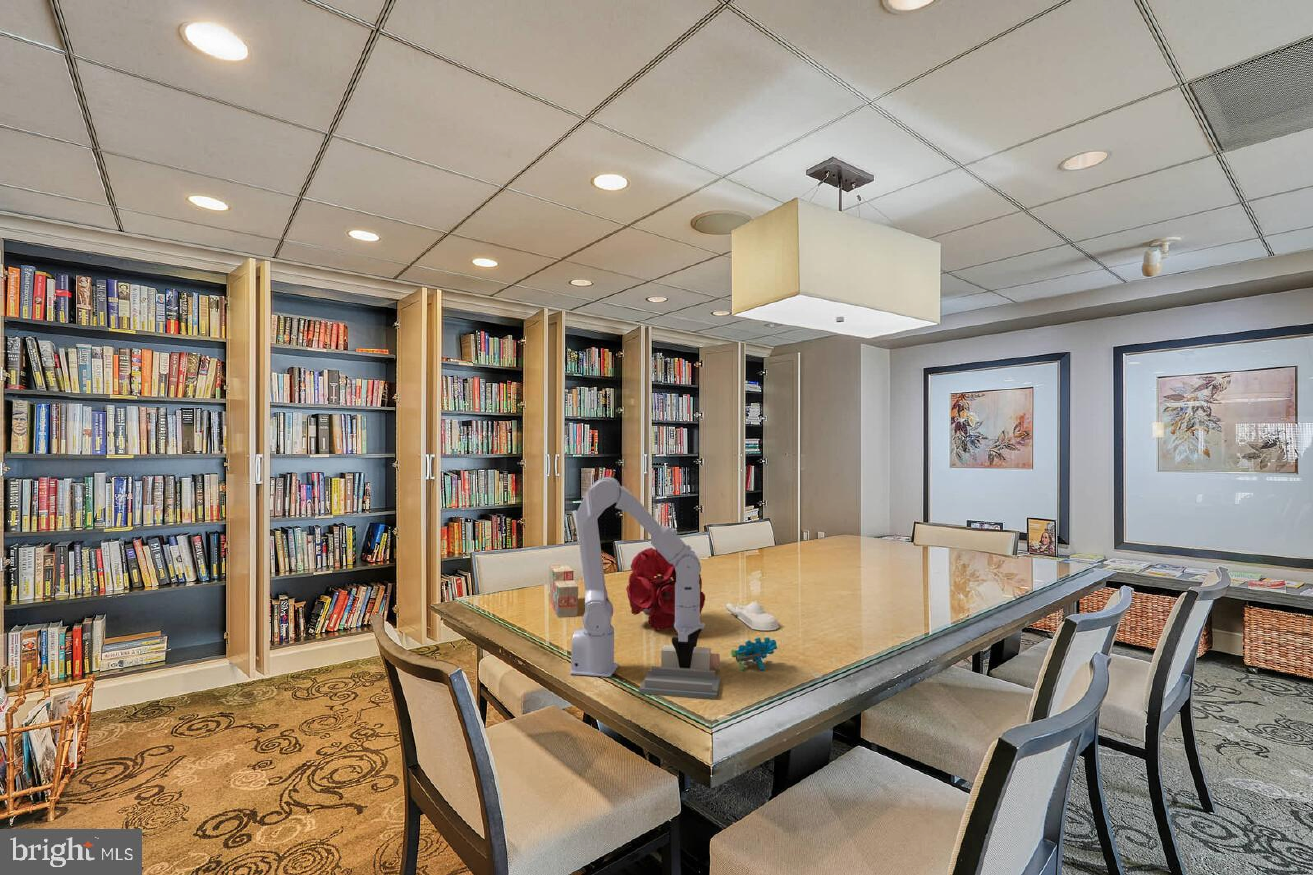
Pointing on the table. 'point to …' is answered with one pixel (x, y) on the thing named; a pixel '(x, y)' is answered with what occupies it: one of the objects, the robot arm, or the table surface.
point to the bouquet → (654, 589)
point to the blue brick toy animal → (754, 651)
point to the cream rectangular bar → (700, 658)
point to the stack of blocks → (563, 591)
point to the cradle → (681, 682)
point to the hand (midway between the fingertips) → (687, 664)
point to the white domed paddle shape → (754, 616)
